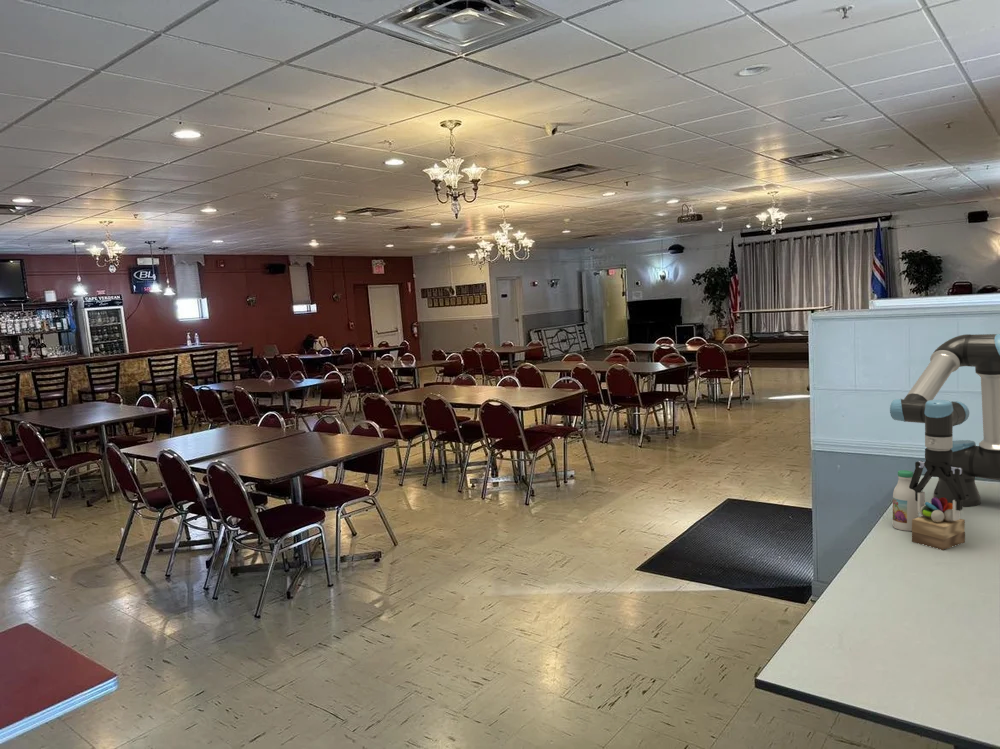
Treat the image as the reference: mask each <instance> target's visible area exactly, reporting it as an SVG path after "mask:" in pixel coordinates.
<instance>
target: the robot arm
mask: <svg viewBox="0 0 1000 749" xmlns="http://www.w3.org/2000/svg"><path fill="white" fill-rule="evenodd" d="M929 360H930V362H929V363H928V364H927V366H926V367H925V369H924V370H923V372H922V373H921V375H920V376H919V377H918V379H917V380H916V382H915V383H914V384H913V386H912V387H911V389H910V390H909V391H908V393H907V394H906V396H904V398H895V399H893V400H892V402H891V403H890V405H889V406H890V407H889V413H890V417H891V418H892V420H894V421H897V422H898V421H899V422H905V423H906V422H907V423H918V424H919V423H920V424H924V446H925V449H924V459H925V461H923V460H919V461H915V463H914V466H915V467H914V472H913V477H912V480H911V483H910V485H909V488H910V489H913V490H914V491H915V500H916V501H918V513H920V509H921V507H922V506H924V505H925V503H926V498H925V497H926V492H925V491H924V489H925V487H926V485H927V484H928V483H929V482H930V481H931V479H932V478H933V477H934V478H938V480H937V483H936V485H935V488H934V491H933V493H932V495H933V497H932V498H934V497H936V498H938V499H940V498H946V499H947V501H948V503H952V504H953V509H952V510H953V520H954V521H956V520H959V519H961V511H963V509H964V507H974V506H978V505H980V504H981V494H980V493H979V489H978V487H977V485H976V478H980V479H986V480H987V479H988V480H994V481H1000V333H996V334H995V333H992V334H990V333H989V334H984V333H983V334H979V333H978V334H961V335H958V336H955V337H952V338H950V339H948V340H946V341H945V342H944V343H942V344H941V345H939V346H938V347H936V349H935V350H934V351H933V353H931V356H930V359H929ZM961 367H962V368H963V367H970V368H972V367H974V368H975V370H974V371H975V374H977V376H979V377H980V386H981V387H980V388H981V389H980V390H981V391H980V392H981V410H982V411H981V412H982V432H983V434H982V435H983V439H982V440H981V441H980V442H979V443H978V445H976V444H977V443H976V442H975V441H974V440H969V439H964V440H963V439H962V440H961V439H960V440H958V439H957V440H954V439H953V432H954V431H953V427H955V426H958V425H959V426H960V425H961V424H963V423H965V422H966V421H967V420H968V419H969V417H970V410H969V408H968V406H967V405H966V404H965V403H964V402H961V401H958V400H957V401H951V400H946V399H935V397H936V396H937V395H938V393H939V392H940V390H941V388H943V386H944V384H946V381H947V380H948V379H949V377H950V375H951V374H952V373H954V372H956V371H957V370H958V369H959V368H961ZM924 468H925V469H926V472H925V473H924V475H923V477H922V473H923V471H924ZM921 477H922V478H921ZM920 479H921V480H920Z"/></svg>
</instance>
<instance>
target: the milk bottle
mask: <svg viewBox="0 0 1000 749" xmlns="http://www.w3.org/2000/svg"><path fill="white" fill-rule="evenodd" d="M913 474H914V472H913V471H911V470H907V469H900V470H898V471H897V478H898V480H897V484H896V485H895V487H894V489H893V493H892V527H893V528H894V529H896V530H900V531H905V532H912V519H915V518H918V517H919V512H918V501H916V500H915V491H914V490H913V489H910V488H909V485H910V483H911V480H912V477H913Z"/></svg>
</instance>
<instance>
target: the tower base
mask: <svg viewBox="0 0 1000 749" xmlns="http://www.w3.org/2000/svg"><path fill="white" fill-rule="evenodd" d="M911 542H912V543H915V544H918V543H919V545H922V544H924V545H923V546H925V545H927V546H926V547H929V546H931V547H930V548H933V547H934V549H936V548H938V549H937V550H940V549H941V550H940V551H945V550H944V549H946V550H948V549H951V548H953V547H952V546H954V547H956V546H958V544H959V545H962V544H964V543H965V542H966V532H962V533H960V534H957V535H955V536H952V537H950V538H947V539H945V540H943V539H939V538H935V537H931V536H928V535H924V534H920V533H916V532H912V531H911ZM961 543H962V544H961ZM955 545H956V546H955ZM950 547H951V548H950ZM947 548H948V549H947Z"/></svg>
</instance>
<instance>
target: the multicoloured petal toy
mask: <svg viewBox="0 0 1000 749" xmlns="http://www.w3.org/2000/svg"><path fill="white" fill-rule="evenodd" d="M919 513H920V514H921V515H920V516H924V517H931V519H932V520H933V521H934V522H941V521H943V520H944V519H945V520H946V521H949V522H952V521H954V520H953V504H952V503H948V501H947V499H946V498H940V499H938V498H936V497H934V498H933V497H932V498H931V499H930V502H929V501H925V505H924V506H922V507H921V509H920V512H919Z"/></svg>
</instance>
